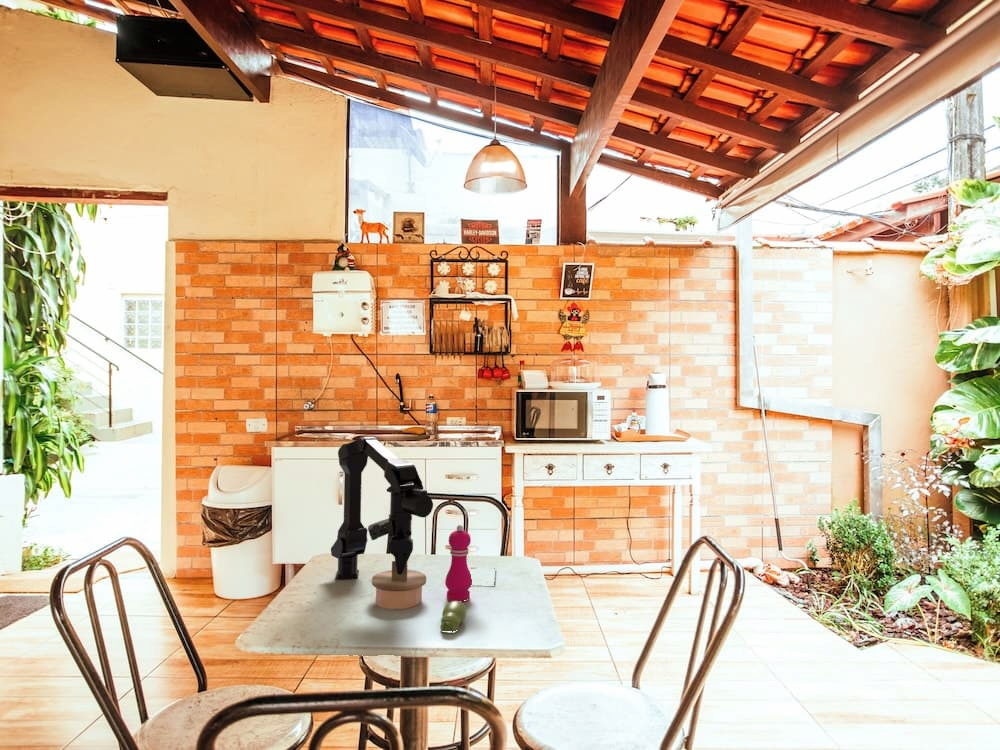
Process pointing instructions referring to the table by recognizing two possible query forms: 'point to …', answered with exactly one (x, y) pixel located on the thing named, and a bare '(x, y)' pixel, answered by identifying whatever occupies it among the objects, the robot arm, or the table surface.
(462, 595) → the pepper mill
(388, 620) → the table surface
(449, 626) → the pear
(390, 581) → the walnut lid
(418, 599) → the terracotta bowl
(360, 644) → the table surface
